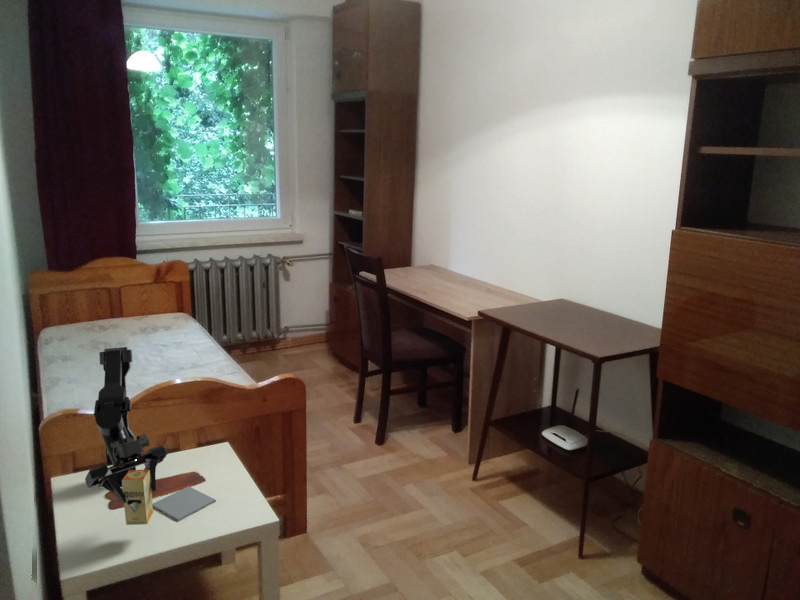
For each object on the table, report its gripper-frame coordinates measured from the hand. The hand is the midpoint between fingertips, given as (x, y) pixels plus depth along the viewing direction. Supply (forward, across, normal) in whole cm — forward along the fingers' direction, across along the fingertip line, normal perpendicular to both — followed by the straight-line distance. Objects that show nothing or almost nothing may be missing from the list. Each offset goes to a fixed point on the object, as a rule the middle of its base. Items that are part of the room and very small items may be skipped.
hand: (140, 496), depth 153 cm
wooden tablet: (-6, +14, +24) cm, 28 cm away
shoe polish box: (+4, 0, +6) cm, 7 cm away
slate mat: (+3, +15, +14) cm, 21 cm away
